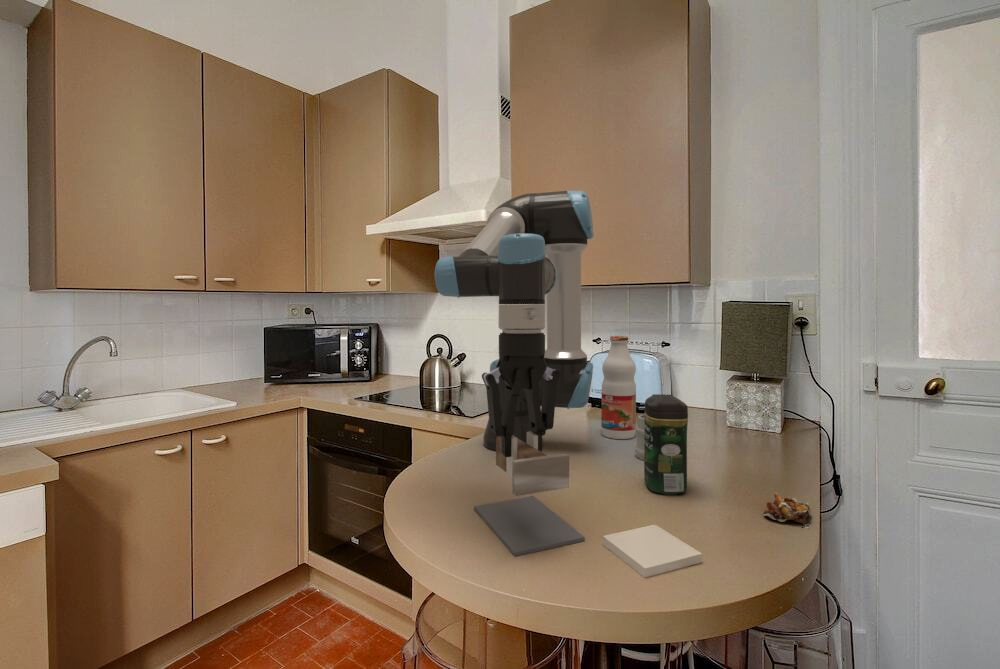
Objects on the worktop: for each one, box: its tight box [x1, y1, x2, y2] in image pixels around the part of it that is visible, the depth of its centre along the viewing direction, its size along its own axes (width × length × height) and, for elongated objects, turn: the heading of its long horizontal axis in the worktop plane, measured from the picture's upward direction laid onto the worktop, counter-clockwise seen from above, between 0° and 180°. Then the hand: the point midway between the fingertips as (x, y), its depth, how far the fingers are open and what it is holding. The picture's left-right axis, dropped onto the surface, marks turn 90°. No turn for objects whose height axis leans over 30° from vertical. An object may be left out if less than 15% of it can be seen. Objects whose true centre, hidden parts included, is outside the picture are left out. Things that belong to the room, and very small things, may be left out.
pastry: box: [762, 491, 812, 530], centre depth 86 cm, size 7×12×4 cm, turn 146°
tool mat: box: [473, 495, 586, 557], centre depth 82 cm, size 18×12×1 cm, turn 22°
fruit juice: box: [600, 335, 637, 440], centre depth 136 cm, size 9×9×28 cm
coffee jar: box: [643, 393, 689, 496], centre depth 98 cm, size 10×8×19 cm
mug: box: [634, 413, 645, 461], centre depth 115 cm, size 8×12×12 cm, turn 160°
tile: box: [602, 524, 703, 578], centre depth 72 cm, size 2×10×10 cm
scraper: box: [495, 436, 570, 497], centre depth 80 cm, size 15×9×5 cm, turn 22°
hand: (522, 473), depth 80 cm, fingers closed on scraper, 3 cm apart
